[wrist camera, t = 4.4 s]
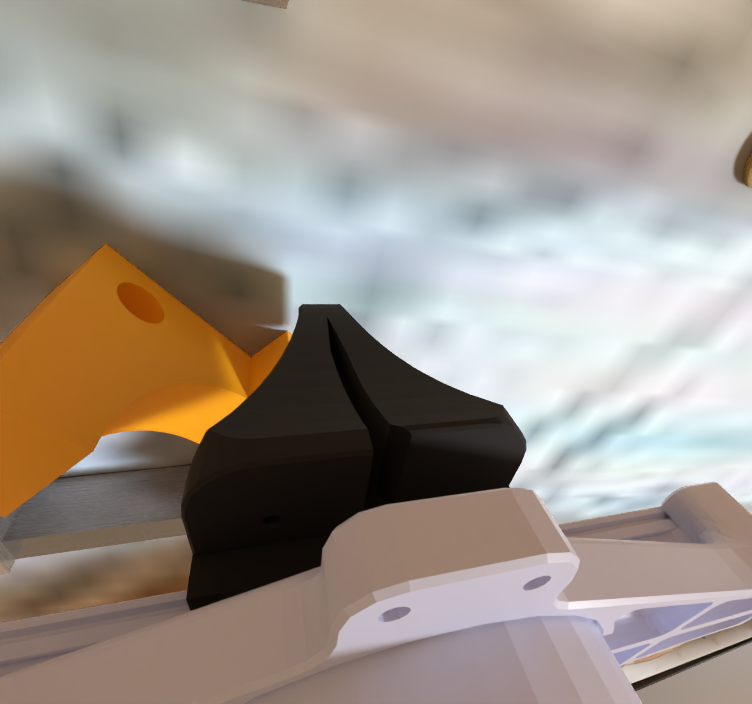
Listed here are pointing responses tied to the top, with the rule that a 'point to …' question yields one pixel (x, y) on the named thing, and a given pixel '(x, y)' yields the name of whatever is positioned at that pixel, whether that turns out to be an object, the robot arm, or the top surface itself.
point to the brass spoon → (748, 171)
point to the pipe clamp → (111, 373)
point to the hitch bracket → (98, 505)
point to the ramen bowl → (686, 655)
